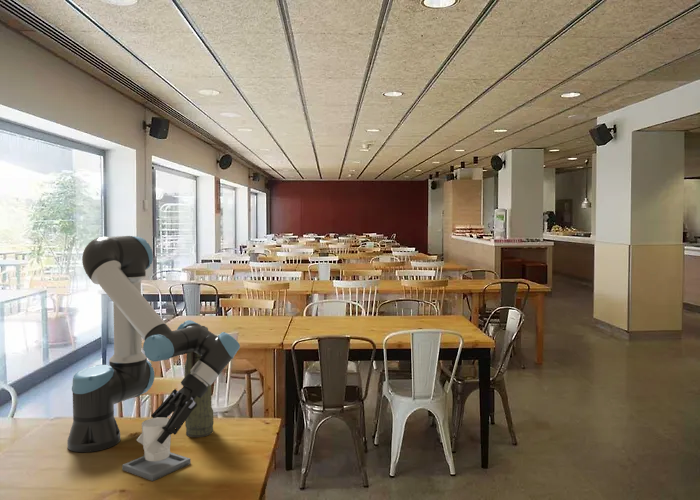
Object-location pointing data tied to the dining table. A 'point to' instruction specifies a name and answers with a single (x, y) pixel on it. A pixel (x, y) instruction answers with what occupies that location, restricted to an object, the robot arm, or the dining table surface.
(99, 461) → the dining table surface
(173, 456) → the charcoal tray
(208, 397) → the thermos
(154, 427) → the white cup
